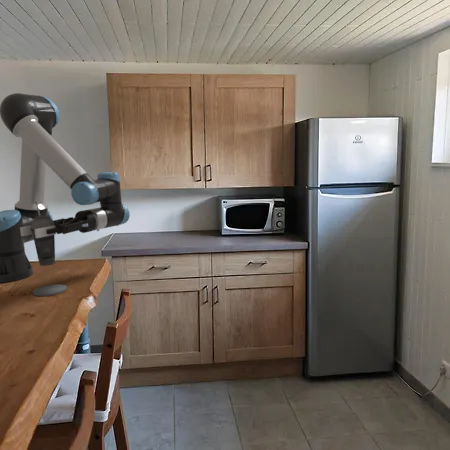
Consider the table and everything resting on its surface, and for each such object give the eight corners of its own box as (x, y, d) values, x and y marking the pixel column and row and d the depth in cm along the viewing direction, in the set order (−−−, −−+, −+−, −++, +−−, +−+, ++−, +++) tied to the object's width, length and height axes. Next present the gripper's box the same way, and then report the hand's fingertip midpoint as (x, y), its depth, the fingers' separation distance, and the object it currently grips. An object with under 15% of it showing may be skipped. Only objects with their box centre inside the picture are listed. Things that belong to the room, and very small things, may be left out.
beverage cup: (51, 267, 139) (43, 202, 136) (30, 267, 141) (21, 203, 137) (64, 261, 146) (57, 199, 143) (43, 260, 148) (36, 199, 144)
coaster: (26, 293, 144) (26, 291, 144) (54, 284, 152) (54, 282, 152) (45, 298, 138) (44, 296, 138) (73, 288, 146) (72, 287, 146)
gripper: (110, 233, 151) (49, 247, 133) (73, 229, 162) (12, 242, 144) (108, 210, 150) (46, 222, 131) (71, 208, 161) (9, 218, 143)
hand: (28, 232), depth 138 cm, fingers closed on beverage cup, 7 cm apart
